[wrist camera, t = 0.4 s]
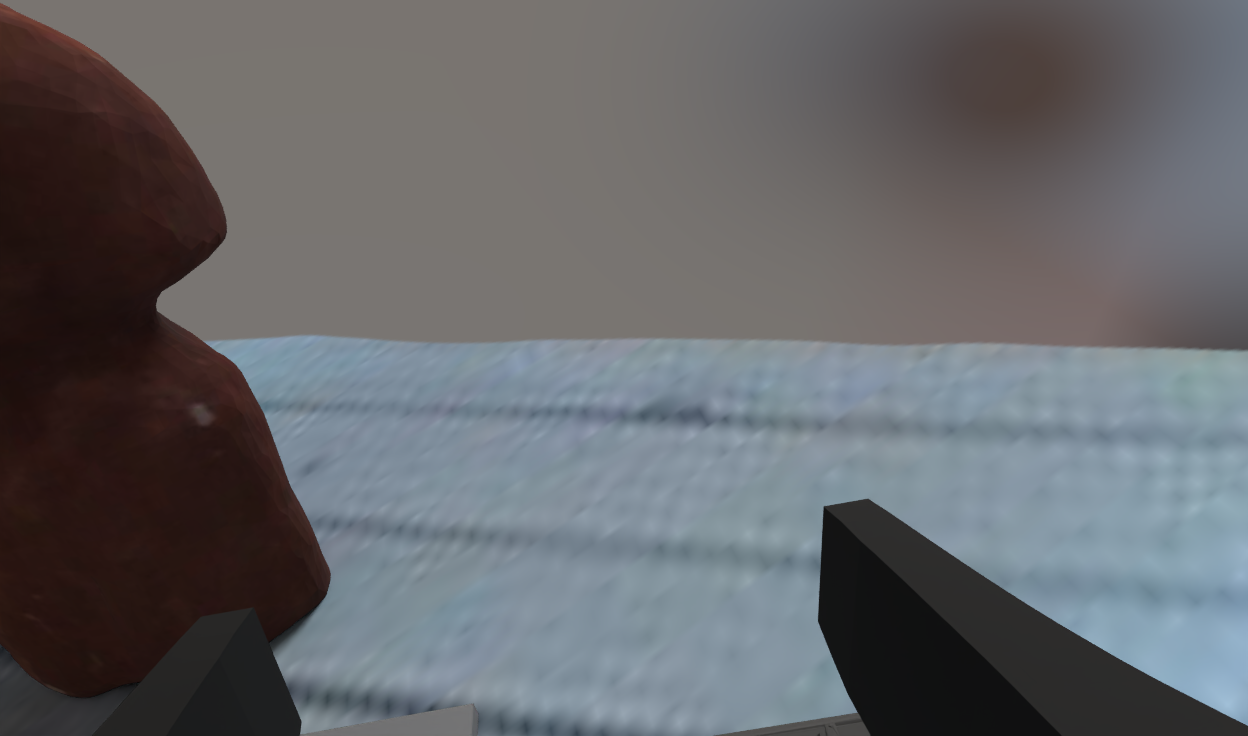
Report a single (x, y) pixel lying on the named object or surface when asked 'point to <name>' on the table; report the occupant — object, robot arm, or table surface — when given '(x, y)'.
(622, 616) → the table surface
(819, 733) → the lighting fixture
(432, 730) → the lid
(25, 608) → the sculpture
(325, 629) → the table surface
